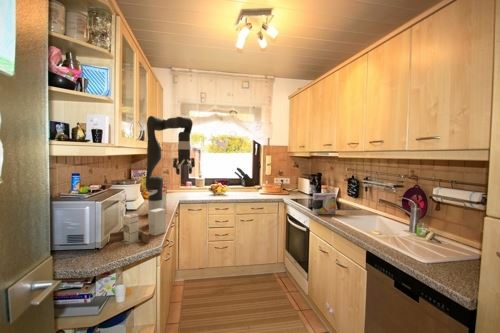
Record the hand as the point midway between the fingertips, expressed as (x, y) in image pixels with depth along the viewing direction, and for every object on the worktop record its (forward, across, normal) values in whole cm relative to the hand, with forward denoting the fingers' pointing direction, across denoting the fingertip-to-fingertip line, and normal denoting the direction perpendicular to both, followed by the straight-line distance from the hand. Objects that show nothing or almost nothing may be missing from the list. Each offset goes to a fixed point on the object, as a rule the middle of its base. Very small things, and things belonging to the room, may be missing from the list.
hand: (184, 174), depth 167 cm
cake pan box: (+36, -109, +38) cm, 121 cm away
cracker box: (+36, -7, -53) cm, 65 cm away
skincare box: (+36, +16, -4) cm, 40 cm away
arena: (+36, +35, +1) cm, 50 cm away
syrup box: (+36, +33, -1) cm, 49 cm away
